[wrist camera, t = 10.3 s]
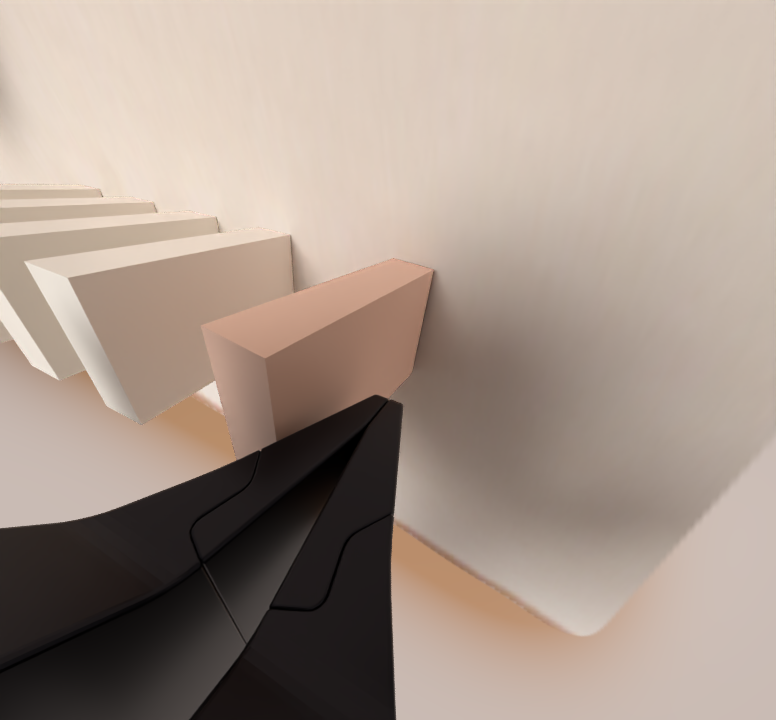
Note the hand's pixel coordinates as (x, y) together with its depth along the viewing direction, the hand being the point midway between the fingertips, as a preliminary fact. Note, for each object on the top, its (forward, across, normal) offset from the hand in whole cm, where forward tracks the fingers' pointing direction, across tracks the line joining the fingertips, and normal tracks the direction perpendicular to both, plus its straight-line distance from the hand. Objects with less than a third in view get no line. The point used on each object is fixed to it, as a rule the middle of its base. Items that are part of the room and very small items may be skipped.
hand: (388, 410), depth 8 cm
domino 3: (+6, +13, 0) cm, 14 cm away
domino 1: (+6, +2, 0) cm, 6 cm away
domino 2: (+6, +9, 0) cm, 10 cm away
